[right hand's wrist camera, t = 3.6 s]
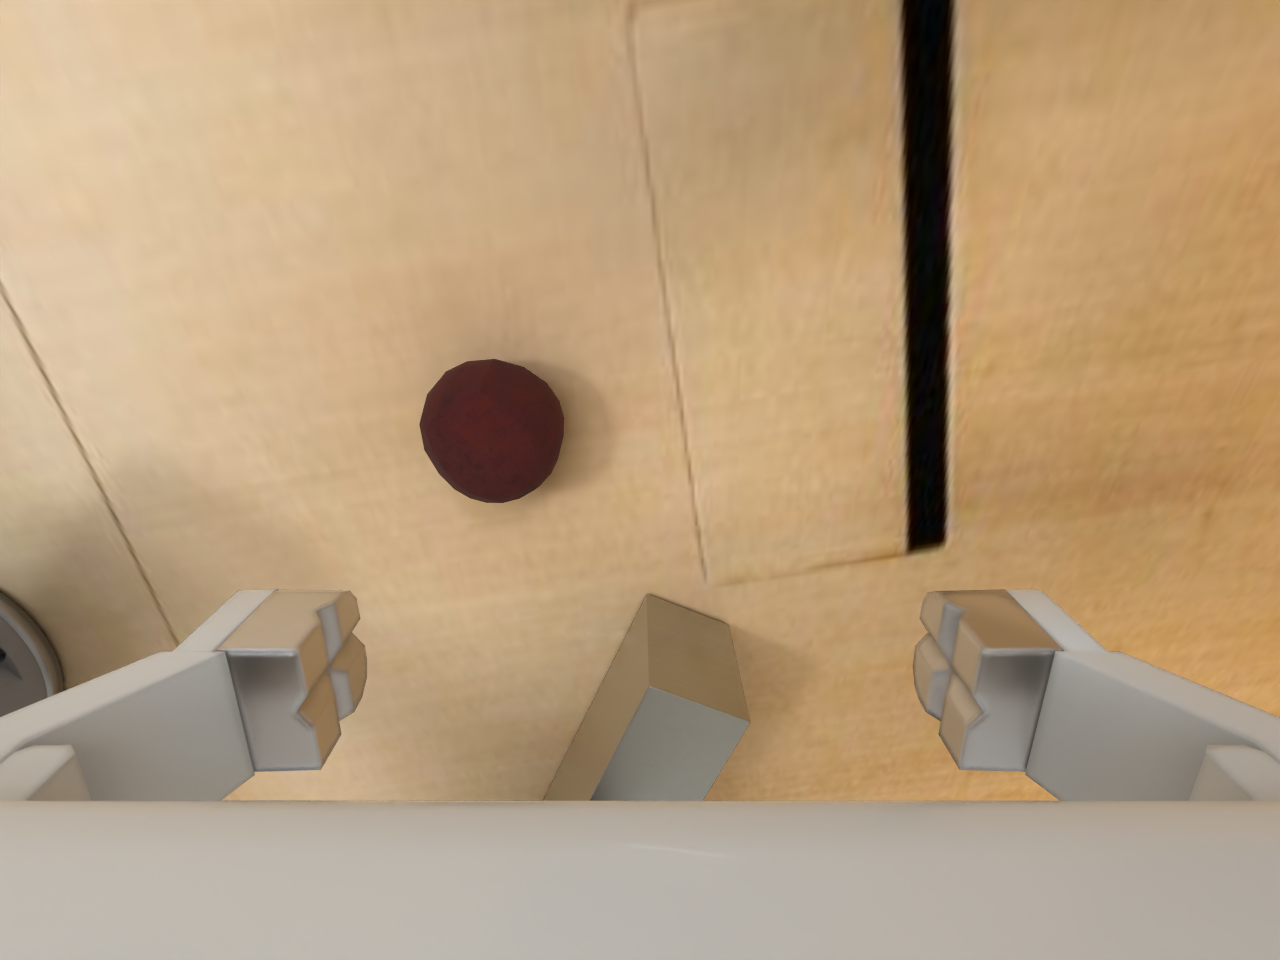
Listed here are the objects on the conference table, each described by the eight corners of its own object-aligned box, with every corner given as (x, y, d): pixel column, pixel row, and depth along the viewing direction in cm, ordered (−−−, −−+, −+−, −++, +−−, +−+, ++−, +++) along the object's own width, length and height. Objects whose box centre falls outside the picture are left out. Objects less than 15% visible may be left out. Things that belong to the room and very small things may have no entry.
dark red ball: (503, 496, 43) (478, 547, 37) (414, 397, 41) (370, 433, 34) (597, 425, 42) (588, 465, 35) (509, 319, 39) (483, 340, 33)
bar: (646, 592, 45) (649, 685, 37) (729, 624, 46) (750, 722, 37) (504, 876, 54) (479, 1006, 45) (576, 898, 55) (564, 1029, 46)
